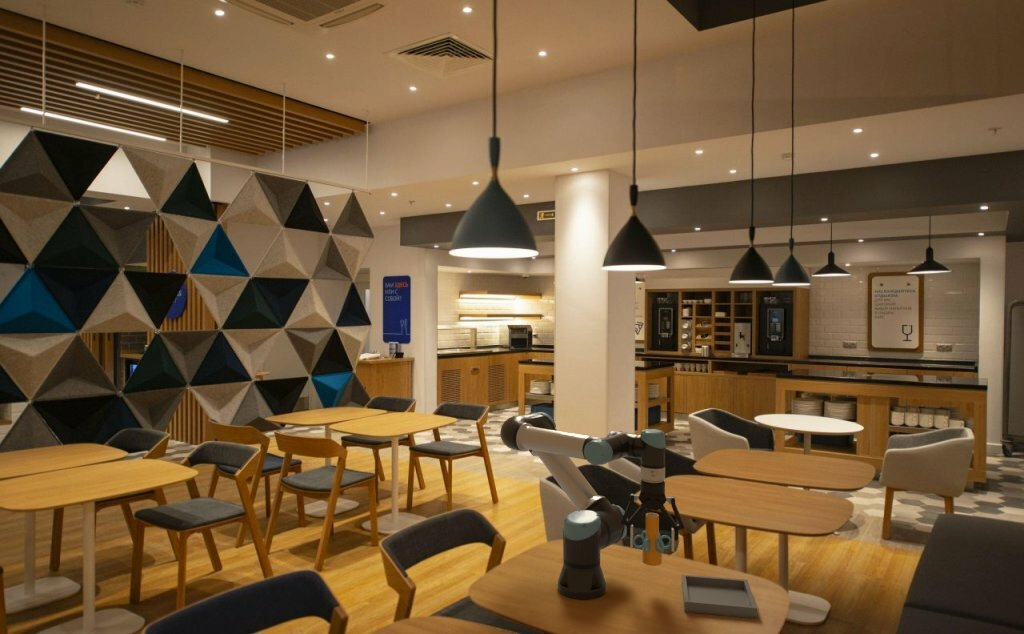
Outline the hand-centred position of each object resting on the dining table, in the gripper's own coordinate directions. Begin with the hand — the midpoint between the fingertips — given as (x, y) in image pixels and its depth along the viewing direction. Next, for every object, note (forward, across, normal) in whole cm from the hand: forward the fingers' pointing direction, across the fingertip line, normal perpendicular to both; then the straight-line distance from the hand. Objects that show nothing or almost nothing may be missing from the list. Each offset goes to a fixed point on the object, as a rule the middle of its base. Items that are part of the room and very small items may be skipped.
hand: (652, 548), depth 201 cm
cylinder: (+5, 0, 0) cm, 5 cm away
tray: (+13, +19, -2) cm, 24 cm away
